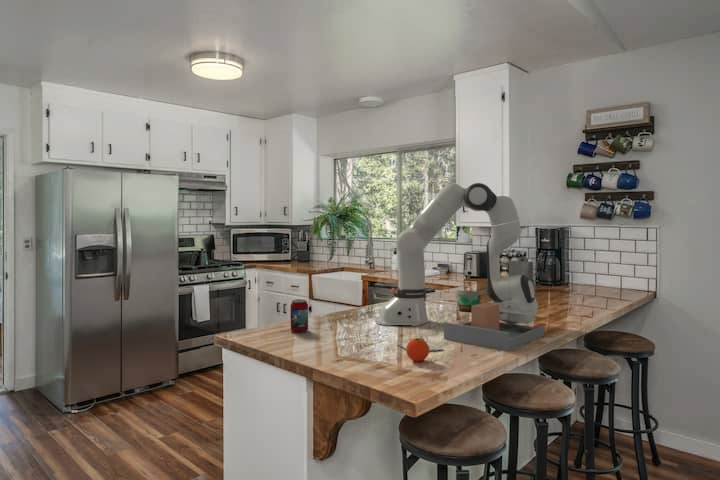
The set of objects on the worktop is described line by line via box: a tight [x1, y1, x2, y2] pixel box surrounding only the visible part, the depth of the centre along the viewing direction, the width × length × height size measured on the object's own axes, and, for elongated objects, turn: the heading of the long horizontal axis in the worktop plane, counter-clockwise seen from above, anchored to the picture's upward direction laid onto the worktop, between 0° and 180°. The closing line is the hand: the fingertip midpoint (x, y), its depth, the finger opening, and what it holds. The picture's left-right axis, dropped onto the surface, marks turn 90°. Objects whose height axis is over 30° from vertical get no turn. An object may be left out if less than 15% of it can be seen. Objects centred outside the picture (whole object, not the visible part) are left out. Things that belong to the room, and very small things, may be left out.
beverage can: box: [290, 298, 309, 334], centre depth 188 cm, size 7×7×12 cm
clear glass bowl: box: [396, 334, 444, 352], centre depth 164 cm, size 12×12×5 cm
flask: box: [508, 256, 534, 283], centre depth 295 cm, size 15×6×20 cm, turn 41°
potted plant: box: [455, 289, 483, 313], centre depth 228 cm, size 12×6×10 cm, turn 68°
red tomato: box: [405, 337, 430, 362], centre depth 149 cm, size 8×7×7 cm
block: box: [470, 302, 500, 331], centre depth 175 cm, size 10×6×10 cm, turn 136°
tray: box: [443, 320, 545, 352], centre depth 178 cm, size 29×25×6 cm
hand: (496, 317), depth 178 cm, fingers closed
